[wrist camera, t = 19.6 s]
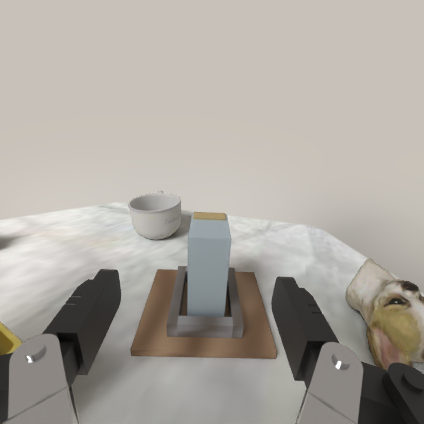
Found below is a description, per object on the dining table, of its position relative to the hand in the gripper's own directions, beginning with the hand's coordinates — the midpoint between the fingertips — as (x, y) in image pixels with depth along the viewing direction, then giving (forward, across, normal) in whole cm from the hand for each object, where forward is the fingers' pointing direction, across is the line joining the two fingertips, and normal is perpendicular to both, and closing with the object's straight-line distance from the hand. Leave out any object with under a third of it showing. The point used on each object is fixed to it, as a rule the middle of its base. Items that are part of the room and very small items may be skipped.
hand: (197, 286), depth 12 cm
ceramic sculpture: (+10, -24, +17) cm, 31 cm away
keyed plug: (+15, -1, +16) cm, 21 cm away
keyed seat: (+15, -1, +17) cm, 22 cm away
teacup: (+38, +10, +17) cm, 43 cm away
